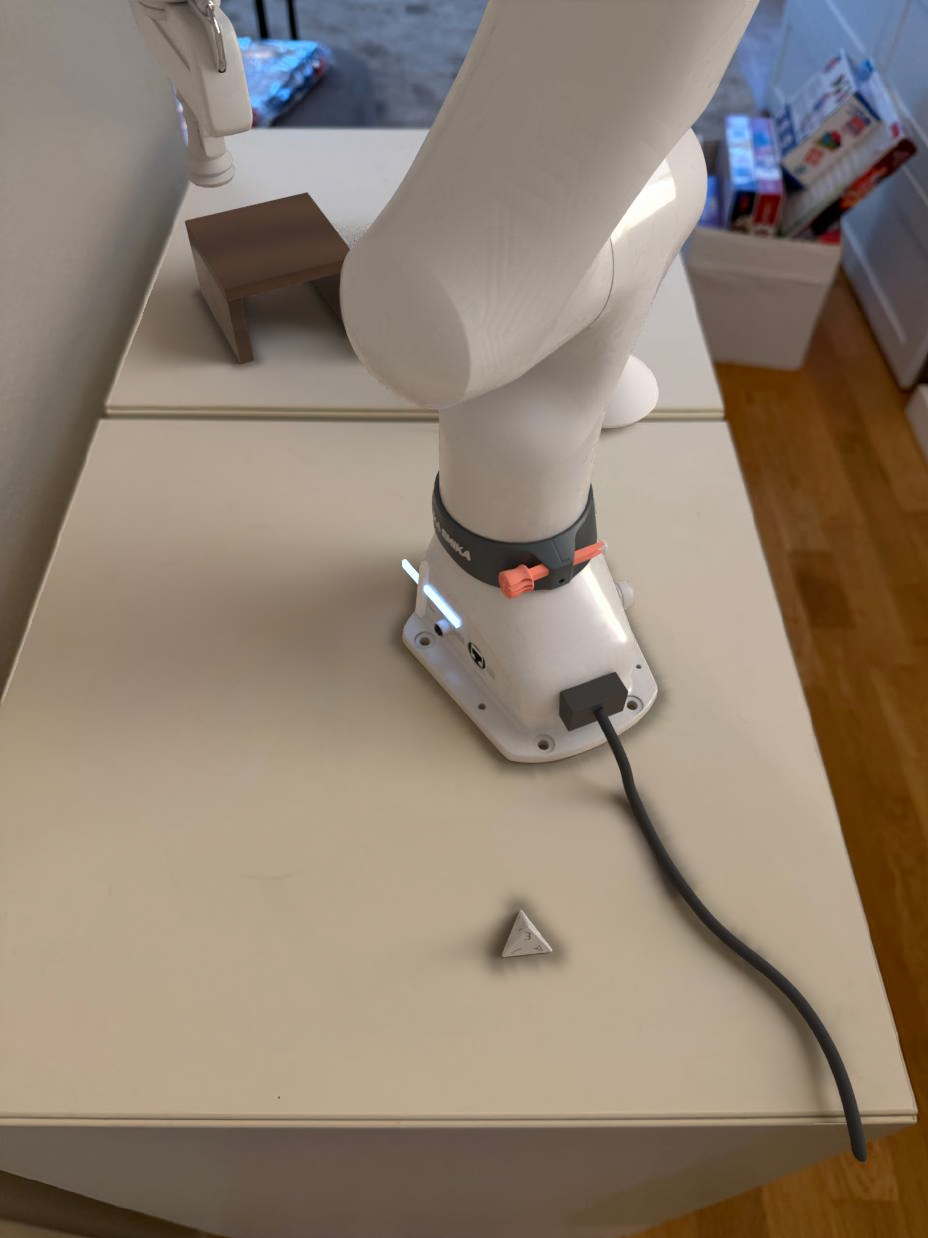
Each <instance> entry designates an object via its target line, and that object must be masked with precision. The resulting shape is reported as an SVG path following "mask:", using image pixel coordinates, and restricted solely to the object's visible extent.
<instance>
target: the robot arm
mask: <svg viewBox="0 0 928 1238" xmlns="http://www.w3.org/2000/svg"><path fill="white" fill-rule="evenodd" d="M221 1H222V0H128V3H129V7H130V10H131V13H132V16H133V19H134V22H135V25H136V27H137V30H138V32H139V34H140V36H141V38H142V41H143V42H144V44H145V45H146V47H147V48H148V50H149V51H150V52H151V54H152V55H153V56H154V58H155V60H156V61H157V62H158V64H159V65H160V67H161V68H162V70H163V71H164V73H165V74H166V76H167V77H168V78H169V80H170V81H171V82H172V84H173V87H174V90H175V93H176V92H177V90H178V91H179V93H180V94H181V95H182V97H183V98H184V100H185V101H186V103H187V104H188V105H189V107H190V108H191V110H192V111H193V113H194V114H195V116H196V117H197V118H198V124H199V129H198V135H199V139H200V145H201V147H202V149H203V150H204V152H205V154H206V155H207V156H208V157H215V156H220V155H223V154H224V153H225V152H226V149H227V146H226V141H225V137H229V136H234V135H239V134H242V133H246V132H248V131H250V130H251V129H252V127H253V119H254V117H253V116H254V115H253V108H252V102H251V97H250V92H249V87H248V81H247V76H246V72H245V67H244V62H243V61H244V60H243V56H242V53H241V48H240V45H239V44H240V43H239V41H238V40H239V39H238V37H237V34H236V30H235V28H234V25H233V23H232V22H231V19H229V17H228V16H227V14H225V13H224V11H223V10H222V9H221V7H220V6H221V3H222V2H221ZM760 1H761V0H488V1H487V3H486V6H485V10H484V13H483V15H482V18H481V20H480V22H479V25H478V28H477V31H476V33H475V35H474V38H473V40H472V42H471V44H470V46H469V49H468V51H467V53H466V56H465V58H464V60H463V62H462V65H460V66H461V67H460V69H459V71H458V73H457V74H456V76H455V78H454V81H453V83H452V84H451V86H450V89H449V91H448V92H447V95H446V97H445V99H444V101H443V103H442V105H441V106H440V109H439V110H438V112H437V115H436V116H435V119H434V121H433V122H432V125H431V127H430V129H429V130H428V132H427V134H426V136H425V138H424V141H423V142H422V144H421V146H420V147H419V150H418V151H417V153H416V156H415V157H414V159H413V161H412V163H411V165H410V167H409V168H408V170H407V172H406V174H405V176H404V177H403V179H402V181H401V182H400V184H399V186H398V187H397V189H396V190H395V192H394V193H393V195H392V196H391V198H390V199H389V201H388V202H387V203H386V204H385V206H384V207H383V209H382V210H381V212H379V214H378V215H377V216H376V218H375V219H374V220H373V222H372V223H371V224H370V225H369V226H368V227H367V229H366V230H365V232H364V233H362V235H361V236H360V237H359V238H358V240H356V242H355V243H354V244H353V245H352V246H351V247H350V250H349V252H348V254H347V255H346V257H345V260H344V262H343V266H342V270H341V277H340V306H341V314H342V318H343V323H344V324H343V323H342V324H343V326H344V330H345V333H346V336H347V338H348V340H349V343H350V345H351V348H352V349H353V352H354V353H355V355H356V356H357V358H358V359H359V361H360V362H361V365H363V367H364V368H365V369H366V371H367V373H369V374H370V376H371V377H373V378H374V379H375V380H376V381H377V383H379V384H380V385H381V386H382V387H384V389H386V390H387V391H388V392H390V393H392V394H393V395H395V396H397V397H398V398H399V399H402V400H403V401H405V402H408V403H410V404H412V405H415V406H417V407H420V408H424V409H428V410H438V471H437V473H436V475H435V478H434V483H433V490H432V495H431V514H432V519H433V520H432V521H433V528H434V532H433V535H432V537H431V539H430V542H429V543H428V546H427V548H426V550H425V552H424V555H423V557H422V559H421V562H420V564H419V568H418V571H417V570H416V569H415V568H414V567H413V566H412V565H411V564H410V562H409V561H408V560H407V559H403V560H402V561H401V562H402V563H401V564H402V568H403V570H405V571H406V573H407V574H408V575H409V576H410V577H411V578H412V579H413V580H414V582H415V583H416V584H417V588H416V600H415V609H414V611H413V612H412V614H411V615H410V616H409V618H408V619H407V621H406V622H405V624H404V626H403V629H402V637H401V639H402V643H403V644H404V646H405V647H406V648H407V649H408V651H409V652H410V653H411V654H412V655H413V656H414V657H415V659H416V660H417V661H419V663H420V664H421V666H423V668H424V669H426V671H427V672H428V673H429V674H430V675H431V676H432V678H434V680H435V681H436V682H437V683H438V684H439V685H440V686H441V687H442V689H443V690H444V691H445V692H446V693H447V694H448V696H450V698H451V699H452V700H453V701H454V702H455V703H456V704H457V705H458V707H459V708H460V709H462V711H463V712H464V713H465V714H466V715H467V717H468V718H469V719H470V721H472V722H473V724H475V726H476V727H477V728H478V729H479V730H480V731H481V733H482V734H483V735H484V736H485V737H486V738H487V739H488V740H489V741H490V742H491V744H492V745H493V746H494V747H495V748H496V749H497V750H498V751H499V753H500V754H502V756H503V757H504V758H506V759H507V760H509V761H511V762H516V763H526V764H531V763H532V764H534V763H537V764H538V763H546V762H547V763H548V762H554V761H559V760H563V759H567V758H570V757H573V756H576V755H579V754H580V755H581V754H583V753H585V752H587V751H589V750H592V749H595V748H596V747H597V748H598V747H599V746H601V745H603V744H605V743H608V745H609V747H610V750H611V751H612V754H613V757H614V759H615V761H616V764H617V766H618V770H619V773H620V777H621V781H622V786H623V790H624V792H625V793H624V794H625V795H626V798H627V800H628V803H629V805H630V807H631V809H632V811H633V813H634V817H635V818H636V820H637V822H638V824H639V826H640V828H641V830H642V831H643V835H644V836H645V838H646V840H647V842H648V844H649V846H650V848H651V850H652V852H653V854H654V856H655V857H656V860H657V861H658V863H659V864H660V866H661V868H662V869H663V871H664V873H665V874H666V876H667V878H668V879H669V880H670V881H671V883H672V885H673V887H675V889H676V890H677V892H678V893H679V894H680V896H681V897H682V899H683V900H684V901H685V902H686V904H687V905H688V906H689V908H690V909H691V910H692V911H693V913H694V914H695V915H696V916H697V918H699V920H700V921H701V922H702V923H703V925H705V927H706V928H707V929H708V930H709V931H710V932H711V933H712V934H713V935H714V936H715V937H716V938H717V939H719V940H720V941H721V942H722V943H724V945H726V947H728V948H729V949H730V950H731V951H733V952H734V953H735V954H736V955H737V956H739V957H740V958H742V959H743V960H744V961H745V962H746V963H748V964H749V965H750V966H752V967H753V968H754V969H755V970H757V971H758V972H759V973H760V974H762V975H763V976H764V977H765V978H767V980H769V981H770V982H771V983H772V984H773V985H774V986H775V987H776V988H778V989H779V991H780V992H781V993H782V994H783V995H784V996H785V997H786V998H787V999H788V1000H789V1001H790V1002H791V1004H792V1005H793V1006H794V1007H795V1008H796V1010H797V1012H798V1013H799V1015H801V1017H802V1018H803V1020H804V1021H805V1022H806V1024H807V1025H808V1027H809V1029H810V1031H811V1032H812V1034H813V1035H814V1037H815V1039H816V1041H817V1043H818V1045H819V1046H820V1048H821V1050H822V1052H823V1055H824V1057H825V1058H826V1061H827V1063H828V1066H829V1068H830V1070H831V1073H832V1076H833V1078H834V1082H835V1085H836V1088H837V1091H838V1094H839V1098H840V1102H841V1105H842V1108H843V1114H844V1117H845V1122H846V1127H847V1131H848V1136H849V1141H850V1147H851V1152H852V1154H853V1157H854V1158H855V1159H856V1160H857V1161H858V1162H862V1163H865V1162H867V1160H868V1149H867V1143H866V1138H865V1137H866V1136H865V1132H864V1128H863V1123H862V1118H861V1115H860V1111H859V1107H858V1103H857V1098H856V1095H855V1092H854V1089H853V1086H852V1082H851V1080H850V1077H849V1074H848V1072H847V1069H846V1066H845V1064H844V1061H843V1059H842V1057H841V1054H840V1052H839V1050H838V1048H837V1046H836V1044H835V1043H834V1041H833V1039H832V1036H831V1034H830V1033H829V1031H828V1030H827V1028H826V1026H825V1025H824V1023H823V1022H822V1020H821V1018H820V1017H819V1016H818V1014H817V1013H816V1011H815V1010H814V1008H813V1007H812V1006H811V1004H810V1003H809V1002H808V1001H807V999H806V998H805V996H804V995H803V994H802V993H801V992H800V991H799V989H797V988H796V986H795V985H793V983H792V982H791V981H790V980H789V979H788V978H787V977H785V975H783V974H782V972H780V971H779V970H778V969H777V968H775V967H774V966H773V965H772V964H771V963H770V962H769V961H767V960H766V959H764V958H763V957H762V956H760V955H759V954H758V953H757V952H756V951H754V950H753V949H752V948H750V947H749V946H748V945H746V944H745V943H744V942H743V941H742V940H740V939H739V938H738V937H737V936H735V935H734V934H733V933H732V932H731V931H730V930H728V929H727V928H726V927H725V925H723V924H722V923H721V922H720V921H719V920H718V919H717V918H716V917H715V916H714V915H713V914H712V913H711V912H710V911H709V909H708V908H707V907H706V906H705V904H704V903H703V902H702V901H701V899H700V898H699V896H698V895H696V893H695V891H694V890H693V888H692V887H691V885H689V884H688V882H687V881H686V879H685V878H684V877H683V875H682V873H681V872H680V871H679V868H678V867H677V866H676V864H675V863H674V861H673V860H672V858H671V857H670V855H669V852H667V850H666V848H665V846H664V845H663V843H662V841H661V839H660V837H659V835H658V834H657V831H656V829H655V827H654V825H653V823H652V821H651V819H650V817H649V815H648V813H647V811H646V808H645V806H644V804H643V802H642V800H641V797H640V794H639V792H638V790H637V787H636V784H635V779H634V774H633V770H632V766H631V763H630V760H629V758H628V756H627V753H626V750H625V749H624V746H623V744H622V741H621V740H620V737H619V736H620V735H622V734H623V733H625V732H627V731H628V730H629V729H631V728H632V727H634V725H637V723H638V722H639V721H640V720H642V718H644V717H645V715H646V714H647V713H648V712H649V711H650V709H651V708H652V707H653V705H654V702H655V701H656V699H657V697H658V689H659V688H658V685H657V681H656V679H655V677H654V675H653V673H652V670H651V669H650V666H649V665H648V662H647V660H646V659H645V656H644V654H643V652H642V650H641V647H640V645H639V643H638V641H637V639H636V637H635V635H634V632H633V630H632V627H631V625H630V622H629V619H628V617H627V614H626V612H625V610H628V609H631V608H633V607H634V606H635V602H636V596H635V591H634V588H633V586H632V585H631V582H629V581H628V580H626V579H624V580H618V581H615V582H614V580H613V576H612V573H611V571H610V568H609V567H608V563H607V561H606V559H605V556H607V555H608V553H609V546H608V542H607V541H606V539H605V538H598V528H597V527H598V526H597V516H596V514H597V513H598V512H597V503H596V499H595V498H594V497H595V496H594V489H593V484H592V478H593V472H594V469H595V468H594V467H595V462H596V458H597V452H598V448H599V447H598V446H599V442H600V438H601V431H602V429H603V428H602V424H603V421H604V418H605V414H606V411H607V408H608V406H609V403H610V400H611V398H612V395H613V393H614V391H615V388H616V386H617V383H618V381H619V379H620V377H621V374H622V372H623V370H624V368H625V365H626V363H627V361H628V359H629V356H630V354H632V352H633V349H634V347H635V345H636V342H637V341H638V338H639V336H640V333H641V331H642V329H643V326H644V324H645V321H646V319H647V316H648V314H649V312H650V309H651V308H652V305H653V302H654V301H655V298H656V296H657V294H658V291H659V289H660V286H661V285H662V283H663V281H664V279H665V277H666V275H667V273H668V271H669V269H670V267H671V266H672V264H673V262H674V261H675V259H676V258H677V256H678V254H679V252H680V251H681V250H682V248H683V246H684V245H685V243H686V241H687V240H688V239H689V237H690V236H691V234H692V232H693V231H694V229H695V228H696V227H697V225H698V223H699V221H700V219H701V216H702V214H703V212H704V208H705V205H706V201H707V196H708V195H707V194H708V169H707V164H706V160H705V155H704V152H703V149H702V147H701V143H700V141H699V139H698V137H697V135H696V133H695V132H694V129H693V128H692V126H694V124H695V123H696V122H697V121H698V120H699V118H700V117H701V116H702V115H703V114H704V112H705V110H706V108H707V107H708V106H709V104H710V103H711V101H712V99H713V97H714V96H715V94H716V92H717V90H718V88H719V86H720V83H721V81H722V79H723V77H724V75H725V73H726V71H727V69H728V67H729V65H730V63H731V61H732V59H733V56H734V54H735V53H736V50H737V49H738V46H739V45H740V43H741V40H742V39H743V36H744V35H745V32H746V30H747V28H748V26H749V24H750V22H751V20H752V18H753V16H754V14H755V12H756V10H757V8H758V5H759V3H760ZM180 106H181V108H182V111H183V110H184V106H183V105H182V104H181V103H180ZM184 121H185V125H186V126H187V123H186V119H185V118H184ZM423 643H428V644H427V645H424V644H423ZM630 706H631V707H633V708H635V709H630V708H629V707H630ZM541 745H542V746H543V745H544V746H546V747H547V748H546V749H542V748H540V747H539V746H541Z"/></svg>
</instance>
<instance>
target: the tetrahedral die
mask: <svg viewBox="0 0 928 1238" xmlns="http://www.w3.org/2000/svg"><path fill="white" fill-rule="evenodd" d="M552 952H553V949H552V947H551V946H550V944H549V943H548V942H547V941H546V939H545V938H544V937H543V935H541V933H540V931H539V930H538V929H537V928H536V926H535V925H534V924H533V923H532V921H531V920H530V919H529V918H528V916H527V914H526V913H525V912H524V911H523V909H519V911H518V914H517V916H516V918H515V921H514V923H513V926H512V929H511V931H510V933H509V936H508V938H507V941H506V944H505V945H504V949H503V951H502V953H501V957H502V958H507V957H516V956H525V955H537V954H543V953H552Z"/></svg>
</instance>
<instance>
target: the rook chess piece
mask: <svg viewBox="0 0 928 1238" xmlns="http://www.w3.org/2000/svg"><path fill="white" fill-rule="evenodd" d="M174 96H175V99H176V100H177V101H178V102H179V103H180V105H181V104H182V105H183V106H184V110H183V109H182V113H181V114H182V117H183V118H184V120H185V119H186V122H185V124H186V123H187V125H186V130H187V132H186V133H187V147H186V149H185V151H186V153H185V154H184V157H183V166H184V168H185V169H186V170H185V172H184V174H185V178H187V179H188V181H189V182H190V183H192V184H193V185H195V186H196V187H199V188H204V189H214V188H215V189H216V188H219V187H220V188H221V187H223V186H225V185H227V184H229V183H230V182H231V181H232V180H233V179H234V177H235V174H236V171H237V168H236V166H235V164H233V163H234V157H233V156H232V154H231V151H230V150H229V149H227V148H226V152H225V153H224V154H223V155H220V156H215V157H208V156H207V155H206V154H205V152H204V150H203V149H202V147H201V145H200V139H199V135H198V129H199V124H198V118H197V117H196V116H195V114H194V113H193V111H192V110H191V108H190V107H189V105H188V104H187V103H186V101H185V100H184V98H183V97H182V95H181V94H180V93H179V91H178V90H177V92H176V91H175V94H174Z"/></svg>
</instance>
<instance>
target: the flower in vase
mask: <svg viewBox="0 0 928 1238" xmlns="http://www.w3.org/2000/svg"><path fill="white" fill-rule="evenodd" d="M658 401H659V387H658V382H657V379H656V377H655V374H654V373H653V372H652V370H651V369H650V368H649V367H648V366H647V365H646V364H645V363H644V362H643V360H641V359H639V357H637V356H635V355H634V354H632V353H631V354H630V356H629V359H628V361H627V363H626V365H625V368H624V370H623V372H622V374H621V377H620V379H619V381H618V383H617V386H616V388H615V391H614V393H613V395H612V398H611V400H610V403H609V406H608V408H607V411H606V414H605V418H604V421H603V424H602V428H601V429H615V428H621V427H627V426H630V425H633V424H635V423H637V422H639V421H641V420H642V419H643V418H645V417H646V416H648V415H649V414H650V413H651V412H652V411H653V410H654V409H655V407H656V406H657V403H658Z"/></svg>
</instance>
